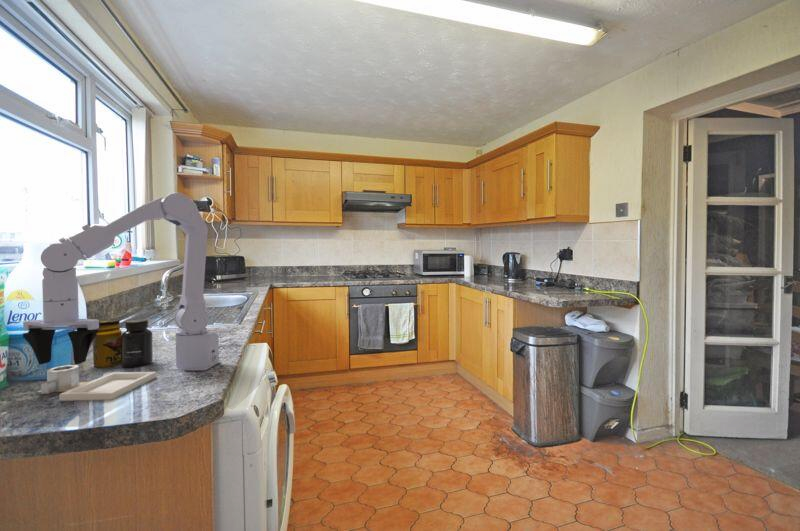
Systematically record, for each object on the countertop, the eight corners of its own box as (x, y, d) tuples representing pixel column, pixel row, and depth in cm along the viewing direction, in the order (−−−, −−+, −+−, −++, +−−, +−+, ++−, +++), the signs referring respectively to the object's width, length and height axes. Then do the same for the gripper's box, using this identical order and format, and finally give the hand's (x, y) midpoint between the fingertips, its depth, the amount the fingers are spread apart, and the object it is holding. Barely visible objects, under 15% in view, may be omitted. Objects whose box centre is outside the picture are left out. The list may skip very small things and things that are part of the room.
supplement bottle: (128, 371, 95) (127, 323, 94) (116, 367, 98) (115, 321, 98) (158, 364, 100) (157, 319, 100) (145, 361, 104) (144, 317, 104)
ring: (84, 382, 85) (84, 364, 85) (57, 393, 78) (56, 374, 78) (62, 383, 85) (61, 365, 85) (32, 394, 78) (32, 374, 78)
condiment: (123, 367, 99) (122, 321, 99) (81, 372, 94) (79, 324, 94) (124, 360, 105) (123, 317, 105) (85, 366, 100) (84, 320, 100)
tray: (156, 379, 88) (156, 371, 88) (111, 402, 74) (111, 393, 74) (112, 380, 88) (112, 372, 88) (59, 403, 74) (59, 394, 74)
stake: (88, 384, 85) (88, 368, 85) (65, 393, 79) (65, 376, 79) (61, 384, 85) (61, 369, 85) (36, 394, 79) (36, 377, 79)
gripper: (7, 302, 78) (9, 368, 78) (79, 301, 78) (81, 367, 78) (39, 299, 85) (41, 359, 85) (105, 298, 85) (107, 358, 85)
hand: (62, 362), depth 82 cm, fingers open, 7 cm apart
